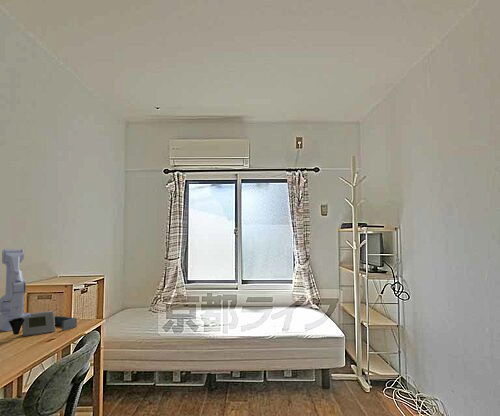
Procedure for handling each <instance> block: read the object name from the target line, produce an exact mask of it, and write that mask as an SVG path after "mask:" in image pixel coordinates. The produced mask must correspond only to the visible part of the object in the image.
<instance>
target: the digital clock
mask: <svg viewBox="0 0 500 416" xmlns="http://www.w3.org/2000/svg"><path fill="white" fill-rule="evenodd" d="M30 313H31V317H26V318H23V319H24V322H23V324H22V326H21V328H22V329H21V331H22V336H23V337H27V336H35V335H36V336H38V335H43V334H49V333H54V332H56V326H55V319H54V317H55V312H54V311H52V310H48V311H37V312H30Z"/></svg>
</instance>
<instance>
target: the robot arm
mask: <svg viewBox="0 0 500 416" xmlns="http://www.w3.org/2000/svg"><path fill="white" fill-rule="evenodd" d="M24 259H25V250H24V249H23V248H18V249H16V248H15V249H14V248H13V249H11V248H10V249H8V248H7V249H5V248H4V249H3V250H2V252H1V263H2V264H3V265H5V267H6V268H5V270H6V273H5V274H6V275H5V294H4V295H2V296H1V297H0V331H3V332H10V331H12V334H13V335H15V336H17V335H19V334H20V331H21V328H22V324H23V322H24V319H23V318H26V317H31V313H32V312H25V313H24V309H25V293H26V290H27V284H26V281H25V279H24V274H23V271H22V270H20V267H21V266H20V265H21V263H22V262H23V260H24Z"/></svg>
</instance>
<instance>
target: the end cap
mask: <svg viewBox="0 0 500 416" xmlns="http://www.w3.org/2000/svg"><path fill="white" fill-rule="evenodd" d="M54 319H55V325H61V326H60V327H61V331H67V330H71V329H74V328H77V327H78V326H77V325H78V323H77V321H78V318H77V317H71V316H62V315H54Z"/></svg>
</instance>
